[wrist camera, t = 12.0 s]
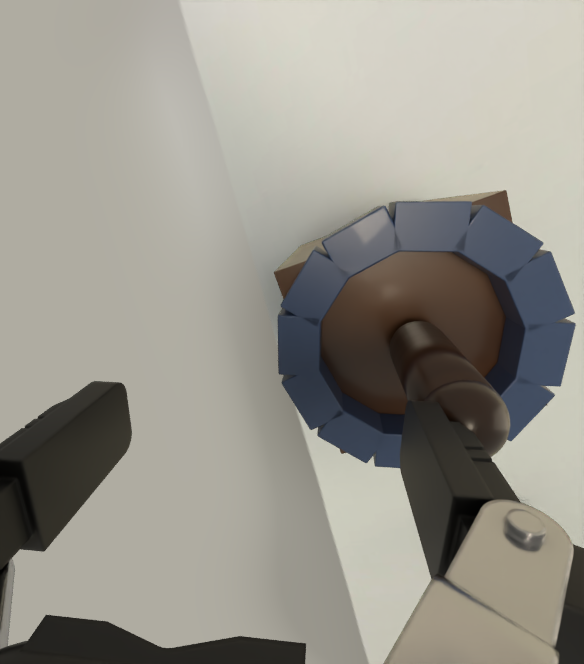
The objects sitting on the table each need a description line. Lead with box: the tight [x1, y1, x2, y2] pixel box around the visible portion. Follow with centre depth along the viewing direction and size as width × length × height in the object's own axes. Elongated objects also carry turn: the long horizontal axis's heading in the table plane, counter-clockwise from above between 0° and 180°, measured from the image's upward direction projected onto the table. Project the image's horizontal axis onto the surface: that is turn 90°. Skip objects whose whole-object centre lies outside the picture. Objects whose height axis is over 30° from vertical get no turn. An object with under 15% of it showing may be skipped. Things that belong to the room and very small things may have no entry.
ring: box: [278, 201, 576, 468], centre depth 16 cm, size 12×12×2 cm
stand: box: [274, 190, 547, 457], centre depth 20 cm, size 10×10×22 cm
